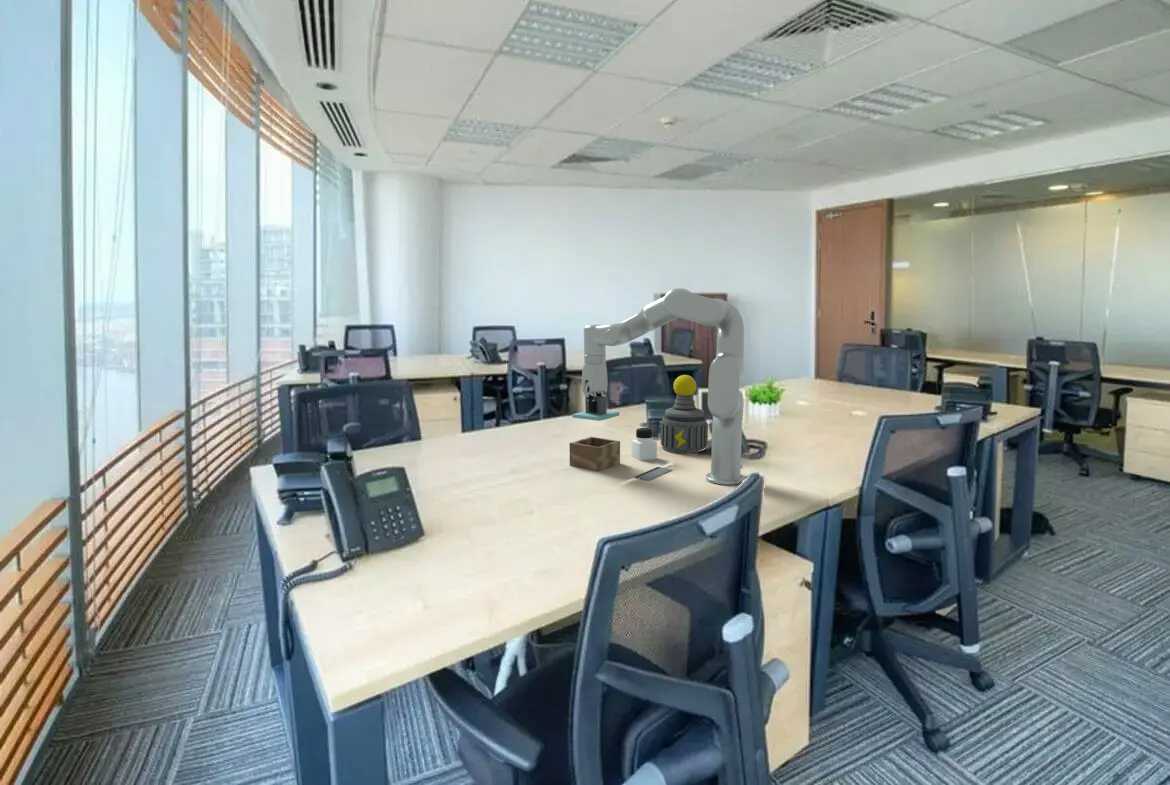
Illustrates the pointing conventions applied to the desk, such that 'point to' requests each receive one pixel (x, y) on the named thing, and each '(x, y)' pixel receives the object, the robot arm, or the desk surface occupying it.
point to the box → (594, 453)
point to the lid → (600, 413)
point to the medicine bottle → (644, 445)
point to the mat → (653, 473)
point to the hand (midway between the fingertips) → (596, 410)
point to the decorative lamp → (684, 421)
